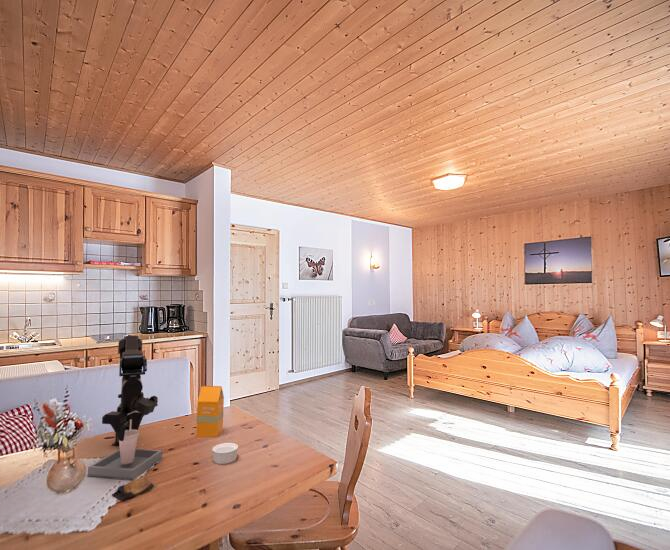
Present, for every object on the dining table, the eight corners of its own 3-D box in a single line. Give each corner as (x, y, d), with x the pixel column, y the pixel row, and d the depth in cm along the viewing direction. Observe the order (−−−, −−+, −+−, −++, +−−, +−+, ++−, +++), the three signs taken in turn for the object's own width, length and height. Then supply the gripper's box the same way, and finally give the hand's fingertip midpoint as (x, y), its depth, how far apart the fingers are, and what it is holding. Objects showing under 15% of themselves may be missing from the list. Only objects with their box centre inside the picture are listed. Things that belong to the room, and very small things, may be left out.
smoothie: (128, 467, 120) (130, 423, 121) (111, 464, 121) (113, 421, 122) (142, 458, 126) (144, 417, 127) (126, 456, 127) (128, 415, 128)
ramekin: (207, 459, 130) (207, 447, 131) (229, 452, 137) (229, 440, 137) (220, 467, 124) (220, 454, 125) (242, 459, 131) (242, 447, 131)
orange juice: (216, 437, 151) (218, 388, 153) (195, 437, 151) (197, 388, 153) (222, 430, 159) (224, 384, 161) (202, 430, 159) (204, 383, 161)
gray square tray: (87, 476, 117) (88, 466, 117) (121, 456, 132) (122, 447, 132) (132, 480, 115) (132, 470, 115) (161, 459, 130) (162, 450, 130)
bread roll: (142, 481, 115) (142, 469, 115) (159, 488, 111) (160, 475, 111) (107, 497, 106) (108, 484, 106) (125, 505, 102) (126, 491, 102)
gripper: (134, 398, 115) (131, 449, 114) (168, 385, 133) (166, 429, 132) (102, 397, 116) (99, 447, 115) (140, 383, 135) (138, 427, 134)
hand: (128, 437), depth 124 cm, fingers closed on smoothie, 6 cm apart
